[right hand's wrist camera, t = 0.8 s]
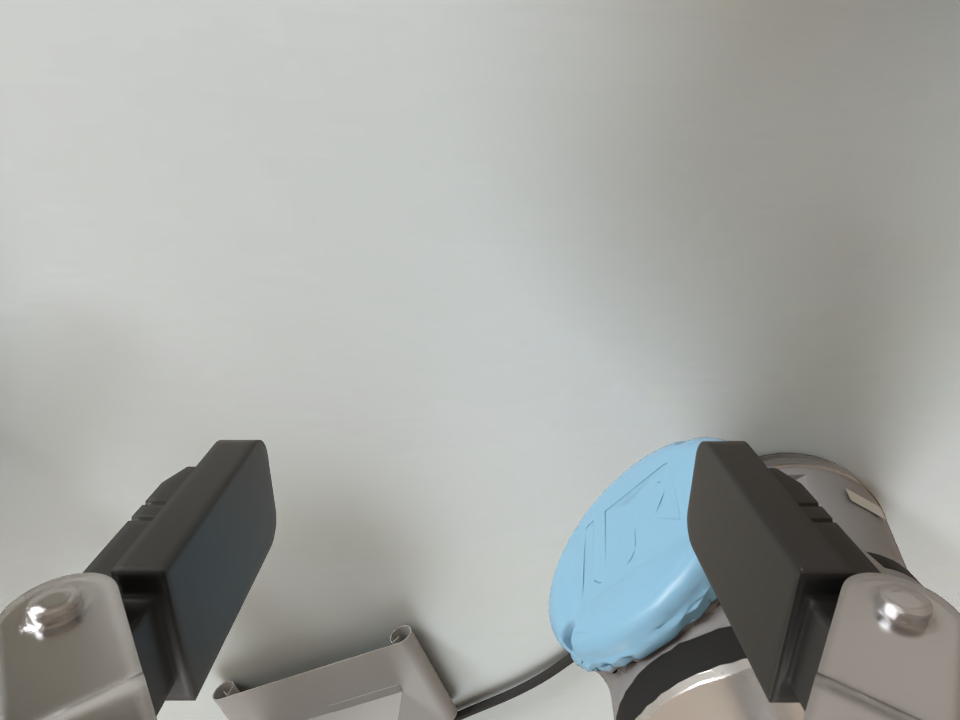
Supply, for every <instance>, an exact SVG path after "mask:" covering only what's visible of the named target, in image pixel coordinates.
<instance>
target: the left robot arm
mask: <svg viewBox="0 0 960 720" xmlns="http://www.w3.org/2000/svg"><path fill="white" fill-rule="evenodd" d="M702 441H724V440H721V439H716V438H707V437H703V438H695V439H692V440H688V441H686V442H675V443H673V444H670V445H667V446H665V447H663V448H661V449H659V450H657V451H655V452H653V453H651V454H649V455H648V456H646V457H645V458H643V459H642V460H640V461H639V462H637V463H636V464H635V465H633V466H632V467H631V468H629V469H628V470H627V471H626V472H624V473H623V474H622V475H621V476H620V477H619V478H618V479H617V480H615V481H614V482H613V483H612V484H611V485H610V486H609V487H608V488H607V489H606V490H605V491H604V492H603V493H602V495H601V496H600V497H599V498H598V499H597V500H596V501H595V503H594V504H593V505H592V506H591V508H590V509H589V510H588V512H587V513H586V514H585V516H584V517H583V519H582V520H581V522H580V524H579V525H578V527H577V528H576V529H575V531H574V532H573V534H572V536H571V537H570V539H569V541H568V543H567V545H566V547H565V549H564V551H563V553H562V555H561V557H560V560H559V562H558V565H557V568H556V570H555V574H554V577H553V581H552V585H551V591H550V598H549V616H550V622H551V626H552V630H553V632H554V635H555V637H556V638H557V640H558V641H559V643H560V644H561V645H562V647H563V648H565V649H566V650H567V651H568V652H569V654H568V655H567V656H565V657H564V658H562V659H561V660H560V661H558V662H557V663H555V664H554V665H553V666H551V667H550V668H548V669H547V670H545V671H543V672H542V673H540V674H538V675H537V676H535V677H533V678H531V679H530V680H528V681H526V682H524V683H522V684H520V685H518V686H516V687H514V688H512V689H510V690H507V691H505V692H503V693H501V694H498V695H496V696H494V697H491V698H489V699H486V700H484V701H481V702H479V703H477V704H474V705H472V706H469V707H467V708H465V709H462V710H460V711H458V712H457V715H456V717H455V718H454V720H462V719H464V718H466V717H469V716H471V715H474V714H476V713H478V712H481V711H483V710H486V709H488V708H491V707H493V706H496V705H498V704H500V703H503V702H505V701H507V700H509V699H512V698H514V697H516V696H518V695H520V694H522V693H524V692H526V691H528V690H530V689H532V688H534V687H536V686H538V685H539V684H541V683H543V682H545V681H546V680H548V679H549V678H551V677H553V676H554V675H556V674H557V673H559V672H560V671H561V670H563V669H564V668H566V667H567V666H569V665H570V664H571V663H573V662H576V664H577V665H578V666H581V667H582V668H583V669H585V670H586V671H588V672H590V671H596V672H597V673H599V674H600V675H601V676H602V677H603V679H604V680H605V682H606V683H607V685H608V687H609V690H610V693H611V698H612V705H613V713H614V720H803V718H804V714H805V711H804V709H803V708H802V706H801V704H800V703H769V701H768V699H767V697H766V695H765V693H764V691H763V689H762V687H761V685H760V683H759V681H758V679H757V677H756V675H755V673H754V671H753V669H752V667H751V665H750V663H749V661H748V659H747V657H746V655H745V653H744V651H743V649H742V647H741V645H740V643H739V641H738V639H737V637H736V635H735V633H734V631H733V629H732V627H731V625H730V623H729V621H728V619H727V617H726V615H725V613H724V611H723V609H722V607H721V605H720V603H719V601H718V599H717V597H716V595H715V593H714V591H713V589H712V587H711V585H710V583H709V581H708V579H707V577H706V575H705V573H704V571H703V569H702V567H701V565H700V563H699V561H698V559H697V557H696V554H695V552H694V550H693V548H692V546H691V543H690V540H689V535H688V529H687V511H688V504H689V498H690V491H691V484H692V477H693V471H694V464H695V457H696V452H697V448H698V446H699V444H700V443H701V442H702ZM759 458H760V459H761V460H762V461H763V463H764V464H765V465H766V466H767V467H768V468H777V469H779V470H780V471H782V472H783V473H785V474H787V475H788V476H790V477H792V478H793V479H795V480H796V481H798V482H800V483H801V484H802V485H803V486H804V487H805V488H806V489H807V490H808V491H809V492H810V494H811V495H812V496H813V497H814V498H815V499H816V500H817V501H818V503H819V507H823V508H824V509H825V510H826V512H827V513H828V514H829V515H830V516H831V517H832V518H833V519H832V520H833V523H837V524H838V525H839V526H840V527H841V528H842V530H843V531H844V532H845V533H846V534H847V535H848V536H849V537H850V539H851V540H852V541H853V542H854V543H855V544H856V545H857V546H858V548H859V549H860V550H861V551H862V552H863V553H864V554H865V555H866V557H867V558H868V559H869V560H870V561H871V562H872V563H873V564H874V566H875V567H876V568H877V569H878V570H879V571H880V572H881V573H882V574H889V575H893V576H897V577H900V578H904V579H907V580H909V581H912V582H914V583H917V584H919V585H921V584H920V583H919V581H918V580H917V579H916V578H915V577H914V576H913V575H912V574H911V573H910V572H909V571H908V570H907V568H906V565H905V563H904V561H903V558H902V556H901V554H900V551H899V549H898V546H897V544H896V542H895V539H894V537H893V534H892V532H891V530H890V527H889V525H888V523H887V520H886V517H885V514H884V512H883V510H882V508H881V506H880V504H879V503H878V501H877V500H876V499H875V497H874V496H873V495H872V494H871V493H870V492H869V491H868V490H867V489H866V488H865V487H864V486H863V485H862V484H861V483H860V482H859V481H858V480H857V479H855V478H854V477H853V476H852V475H851V474H850V473H849V472H847V471H846V470H845V469H843V468H842V467H840V466H838V465H836V464H835V463H832V462H830V461H828V460H825V459H822V458H819V457H815V456H811V455H805V454H795V453H782V454H771V455H765V456H760V457H759ZM921 586H922V585H921ZM923 587H924V586H923Z"/></svg>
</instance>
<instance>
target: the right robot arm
mask: <svg viewBox="0 0 960 720" xmlns="http://www.w3.org/2000/svg"><path fill="white" fill-rule="evenodd" d="M832 519H833V518H832V517H831V516H830V515H829V514H828V513H827V512H826V510H825V509H824V508H823V507H819V503H818V501H817V500H816V499H815V498H814V497H813V496H812V495H811V494H810V492H809V491H808V490H807V489H806V488H805V487H804V486H803V485H802V484H801V483H800V482H798V481H796V480H795V479H793V478H792V477H790V476H788V475H787V474H785V473H783V472H782V471H780V470H779V469H777V468H768V467H767V466H766V465H765V464H764V463H763V461H762V460H761V459H760V458H759V457H758V455H757V454H756V453H755V452H754V451H753V449H752V448H751V447H750V446H749V445H748V444H747V443H746V442H744V441H702V442H701V443H700V444H699V446H698V448H697V452H696V457H695V464H694V471H693V477H692V484H691V491H690V498H689V504H688V511H687V529H688V535H689V540H690V543H691V546H692V548H693V550H694V552H695V554H696V557H697V559H698V561H699V563H700V565H701V567H702V569H703V571H704V573H705V575H706V577H707V579H708V581H709V583H710V585H711V587H712V589H713V591H714V593H715V595H716V597H717V599H718V601H719V603H720V605H721V607H722V609H723V611H724V613H725V615H726V617H727V619H728V621H729V623H730V625H731V627H732V629H733V631H734V633H735V635H736V637H737V639H738V641H739V643H740V645H741V647H742V649H743V651H744V653H745V655H746V657H747V659H748V661H749V663H750V665H751V667H752V669H753V671H754V673H755V675H756V677H757V679H758V681H759V683H760V685H761V687H762V689H763V691H764V693H765V695H766V697H767V699H768V701H769V703H800V704H801V706H802V708H803V709H804V711H805V714H804V718H803V720H960V613H959V612H958V611H957V610H956V609H955V608H954V607H953V606H952V605H951V604H950V603H948V602H947V601H946V600H945V599H943V598H942V597H940V596H939V595H937V594H936V593H934V592H932V591H931V590H929V589H927V588H925V587H923V586H921V585H919V584H917V583H914V582H912V581H909V580H907V579H904V578H900V577H897V576H893V575H889V574H882V573H881V572H880V571H879V570H878V569H877V568H876V567H875V566H874V564H873V563H872V562H871V561H870V560H869V559H868V558H867V557H866V555H865V554H864V553H863V552H862V551H861V550H860V549H859V548H858V546H857V545H856V544H855V543H854V542H853V541H852V540H851V539H850V537H849V536H848V535H847V534H846V533H845V532H844V531H843V530H842V528H841V527H840V526H839V525H838V524H837V523H833V520H832ZM275 528H276V509H275V502H274V495H273V489H272V482H271V475H270V468H269V461H268V454H267V450H266V446H265V444H264V443H263V441H261V440H219V441H217V442H216V443H215V444H214V446H213V447H212V448H211V449H210V450H209V452H208V453H207V454H206V455H205V456H204V458H203V459H202V460H201V461H200V463H199V464H198V465H197V466H196V467H186V468H185V469H183V470H182V471H180V472H178V473H177V474H175V475H174V476H172V477H170V478H169V479H167V480H166V481H164V482H162V483H161V484H160V486H159V487H158V488H157V489H156V490H155V491H154V492H153V494H152V495H151V496H150V497H149V498H148V499H147V500H146V504H145V505H142V506H141V507H140V508H139V509H138V511H137V512H136V513H135V514H134V515H133V516H132V521H128V522H127V523H126V524H125V525H124V526H123V528H122V529H121V530H120V531H119V532H118V533H117V534H116V536H115V537H114V538H113V539H112V540H111V541H110V542H109V544H108V545H107V546H106V547H105V548H104V549H103V550H102V551H101V553H100V554H99V555H98V556H97V557H96V558H95V559H94V561H93V562H92V563H91V564H90V565H89V566H88V567H87V568H86V570H85V571H84V572H83V573H78V574H71V575H67V576H63V577H60V578H56V579H53V580H51V581H48V582H46V583H43V584H41V585H39V586H37V587H35V588H33V589H31V590H29V591H28V592H26V593H24V594H23V595H21V596H20V597H18V598H17V599H15V600H14V601H13V602H12V603H10V604H9V605H8V606H7V607H6V608H5V609H4V610H3V611H2V612H1V613H0V720H157V718H156V716H157V714H158V713H159V711H160V709H161V707H162V705H163V703H164V702H165V700H196V698H197V696H198V694H199V692H200V690H201V688H202V686H203V684H204V682H205V680H206V678H207V676H208V674H209V672H210V670H211V668H212V665H213V663H214V661H215V659H216V657H217V655H218V653H219V651H220V649H221V647H222V645H223V643H224V641H225V639H226V637H227V635H228V633H229V631H230V629H231V627H232V625H233V623H234V621H235V619H236V617H237V615H238V613H239V611H240V609H241V607H242V605H243V602H244V600H245V598H246V596H247V594H248V592H249V590H250V588H251V586H252V584H253V582H254V580H255V578H256V576H257V574H258V572H259V570H260V568H261V566H262V564H263V562H264V560H265V558H266V556H267V554H268V552H269V550H270V548H271V545H272V542H273V539H274V535H275Z"/></svg>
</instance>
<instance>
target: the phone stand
mask: <svg viewBox="0 0 960 720" xmlns="http://www.w3.org/2000/svg"><path fill="white" fill-rule="evenodd" d="M390 641H391V643H392V645H390V646H386V647H383V648H380V649H377V650H374V651H371V652H367V653H364V654H361V655H358V656H355V657H351V658H348V659H345V660H342V661H339V662H335V663H332V664H329V665H326V666H323V667H319V668H316V669H313V670H310V671H307V672H304V673H300V674H297V675H294V676H291V677H288V678H284V679H281V680H278V681H275V682H272V683H268V684H265V685H262V686H259V687H256V688H253V689H249V690H246V691H243V692H240V691H239V689H238V688H237V687H236V685H235V684H234V683H233V681H227V682H224V683H223V684H221V685H220V686H219V687H218V688H217V689H216V690H215V692H214V693H213V699H214V701H215V702H216V703H217V705H218V706H219V707H220V709H221V710H222V711H223V713H224V714H225V715H226V717H227V718H228V719H229V720H454V718H455V717H456V715H457V708H456V707H455V705H454V703H453V701H452V700H451V698H450V696H449V694H448V693H447V691H446V689H445V687H444V686H443V684H442V682H441V680H440V679H439V677H438V675H437V673H436V672H435V670H434V668H433V666H432V664H431V663H430V661H429V659H428V657H427V656H426V654H425V652H424V650H423V649H422V647H421V645H420V643H419V642H418V640H417V638H416V636H415V635H414V633H413V631H412V629H411V628H410V626H408V625H403V626H400V627H398V628H397V629H395V630H394V631H393V633H392V634H391V636H390Z"/></svg>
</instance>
